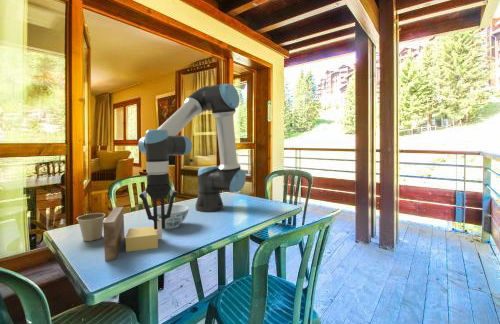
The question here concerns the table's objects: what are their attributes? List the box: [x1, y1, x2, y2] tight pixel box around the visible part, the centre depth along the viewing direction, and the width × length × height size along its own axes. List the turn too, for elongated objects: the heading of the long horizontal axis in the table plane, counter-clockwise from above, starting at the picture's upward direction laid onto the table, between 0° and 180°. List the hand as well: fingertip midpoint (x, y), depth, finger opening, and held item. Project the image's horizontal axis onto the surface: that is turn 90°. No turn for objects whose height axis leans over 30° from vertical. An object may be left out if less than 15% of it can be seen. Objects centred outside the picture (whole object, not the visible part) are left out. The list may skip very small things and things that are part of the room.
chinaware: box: [151, 204, 189, 230], centre depth 113 cm, size 15×15×8 cm
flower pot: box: [76, 212, 106, 242], centre depth 99 cm, size 9×9×9 cm
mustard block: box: [125, 225, 159, 253], centre depth 94 cm, size 10×10×5 cm
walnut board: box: [102, 206, 125, 262], centre depth 90 cm, size 3×20×12 cm, turn 18°
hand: (159, 237), depth 95 cm, fingers closed
